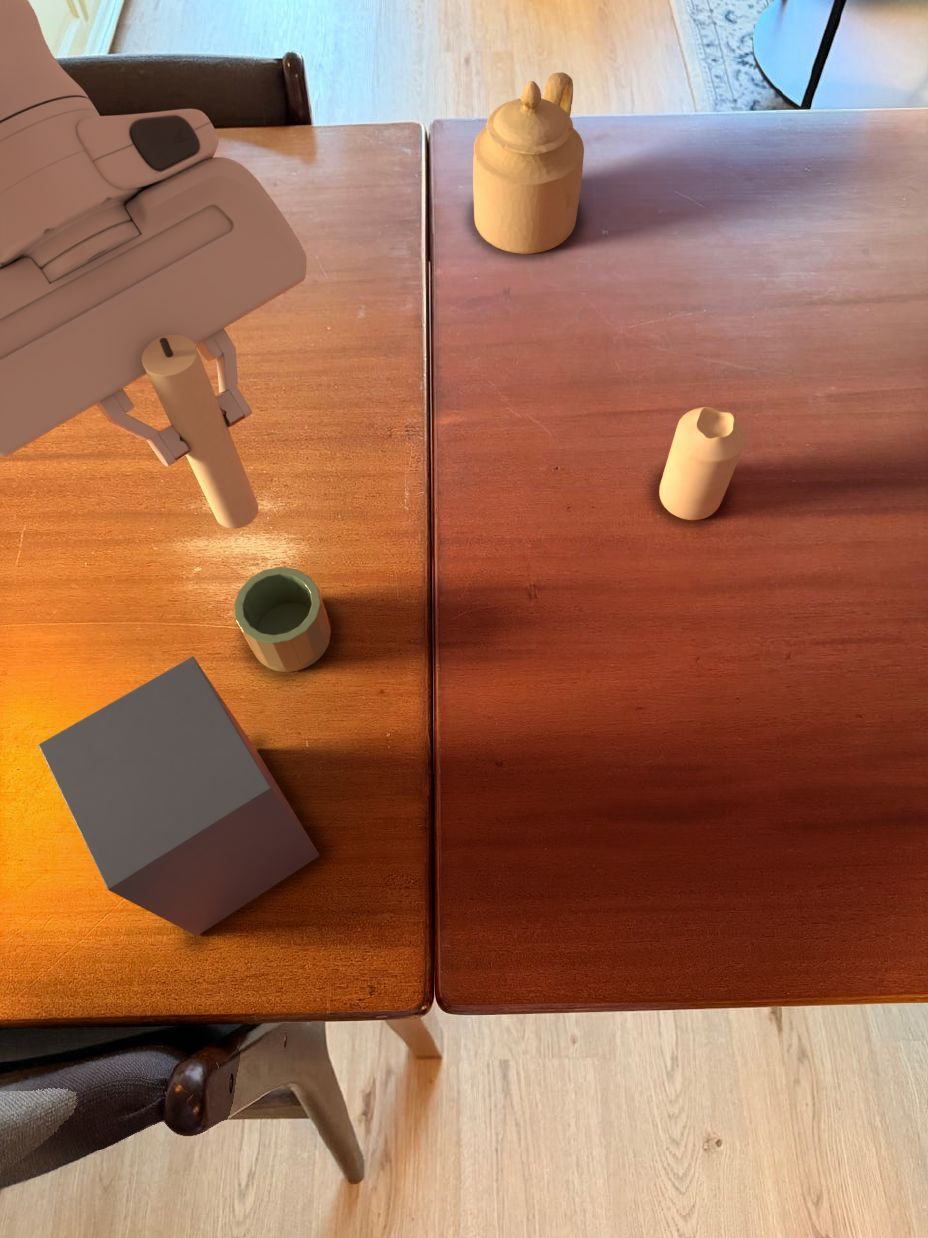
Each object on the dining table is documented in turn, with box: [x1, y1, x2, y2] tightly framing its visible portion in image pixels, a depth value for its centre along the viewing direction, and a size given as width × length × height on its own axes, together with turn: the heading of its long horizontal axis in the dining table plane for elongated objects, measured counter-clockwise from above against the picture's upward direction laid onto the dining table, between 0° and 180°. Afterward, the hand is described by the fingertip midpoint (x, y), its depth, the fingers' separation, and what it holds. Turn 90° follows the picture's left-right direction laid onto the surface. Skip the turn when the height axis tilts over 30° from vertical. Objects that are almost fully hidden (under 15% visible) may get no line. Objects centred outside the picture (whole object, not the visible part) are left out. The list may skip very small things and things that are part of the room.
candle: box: [659, 406, 747, 521], centre depth 76 cm, size 6×6×10 cm
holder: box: [233, 566, 332, 673], centre depth 72 cm, size 7×7×6 cm
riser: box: [38, 656, 320, 937], centre depth 59 cm, size 10×10×17 cm
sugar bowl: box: [472, 71, 585, 255], centre depth 91 cm, size 15×11×15 cm
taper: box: [142, 335, 259, 530], centre depth 51 cm, size 3×3×15 cm
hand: (209, 439), depth 51 cm, fingers closed on taper, 3 cm apart
